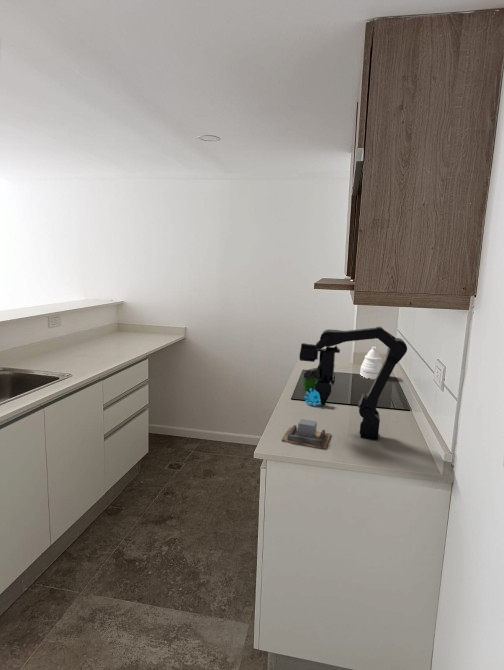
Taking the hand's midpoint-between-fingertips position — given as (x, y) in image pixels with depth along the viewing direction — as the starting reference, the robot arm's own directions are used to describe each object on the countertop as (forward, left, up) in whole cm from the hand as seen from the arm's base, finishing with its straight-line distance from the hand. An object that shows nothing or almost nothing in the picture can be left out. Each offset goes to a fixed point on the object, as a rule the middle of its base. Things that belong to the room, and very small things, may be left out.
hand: (324, 402), depth 164 cm
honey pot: (-14, -93, -12) cm, 95 cm away
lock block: (+4, +11, -11) cm, 16 cm away
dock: (+4, +11, -11) cm, 16 cm away
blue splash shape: (+8, -28, -12) cm, 31 cm away
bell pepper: (+14, -50, -12) cm, 54 cm away
